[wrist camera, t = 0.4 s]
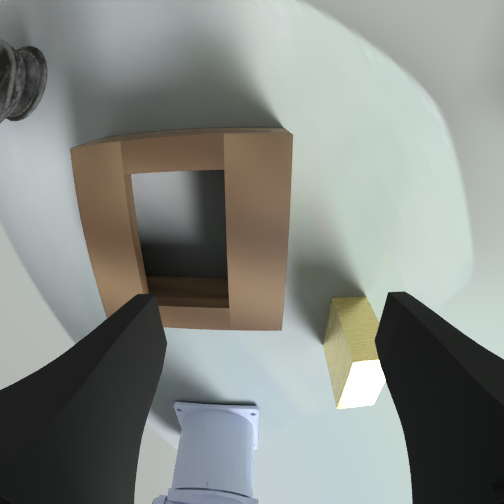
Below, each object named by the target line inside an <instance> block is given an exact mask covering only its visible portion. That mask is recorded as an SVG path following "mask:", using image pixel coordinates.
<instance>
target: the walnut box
mask: <svg viewBox="0 0 504 504" xmlns="http://www.w3.org/2000/svg"><path fill="white" fill-rule="evenodd" d="M292 145H293V134H291V133H290V132H289V131H287V130H286V129H285V128H273V127H224V128H197V129H180V130H166V131H155V132H144V133H135V134H127V135H119V136H111V137H106V138H102V139H99V140H96V141H92V142H89V143H86V144H83V145H80V146H77V147H74V148H71V149H70V152H71V160H72V168H73V176H74V182H75V189H76V195H77V201H78V206H79V212H80V217H81V222H82V227H83V231H84V236H85V240H86V245H87V249H88V253H89V257H90V261H91V265H92V269H93V273H94V276H95V280H96V283H97V287H98V290H99V294H100V297H101V300H102V303H103V307H104V310H105V313H106V316H107V318H109V317H110V316H111V315H112V314H113V313H115V312H116V311H117V310H118V309H119V308H120V307H122V306H123V305H124V304H125V303H126V302H128V301H129V300H130V299H131V298H133V297H134V296H135V295H137V294H156V298H157V302H158V307H159V311H160V316H161V320H162V325H163V327H169V328H187V329H211V330H282V321H283V309H284V296H285V282H286V268H287V252H288V235H289V217H290V197H291V173H292ZM191 170H224V174H225V211H226V241H227V266H228V278H190V277H151V276H146V274H145V269H144V264H143V258H142V252H141V247H140V241H139V234H138V228H137V221H136V214H135V207H134V199H133V191H132V182H131V174H135V173H150V172H168V171H191Z"/></svg>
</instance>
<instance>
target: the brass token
mask: <svg viewBox="0 0 504 504" xmlns="http://www.w3.org/2000/svg"><path fill="white" fill-rule="evenodd" d="M378 327H379V322H378V320H377V318H376V316H375V313H374V311H373V309H372V307H371V305H370V303H369V301H368V299H367V297H332V302H331V307H330V312H329V318H328V323H327V328H326V333H325V338H324V343H323V347H324V352H325V356H326V360H327V365H328V369H329V374H330V378H331V383H332V388H333V392H334V397H335V402H336V407H337V409H340V408H350V407H357V406H366V405H372V404H374V402H375V400H376V398H377V396H378V394H379V392H380V390H381V388H382V386H383V384H384V382H385V377H384V375H383V372H382V369H381V366H380V362H379V358H378V354H377V350H376V346H375V341H374V340H375V337H376V334H377V330H378Z"/></svg>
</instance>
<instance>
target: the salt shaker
mask: <svg viewBox="0 0 504 504" xmlns="http://www.w3.org/2000/svg"><path fill="white" fill-rule="evenodd" d="M46 80H47V66H46V61H45V58H44V56H43V54H42V53H41V52H40V51H39V50H38V49H37V48H33V47H23V48H21V49H19V50H17V51H16V50H15V49H14V48H13V47H11V46H10V45H9V44H8V43H7V42H6V41H3V40H0V123H1V122H2V121H3V120H4V119H5V118H6V119H8V120H10V121H19V120H22V119H24V118H26V117H27V116H29V115H30V114H31V113H32V112H33V111H34V109H35V108H36V107H37V105H38V103H39V102H40V100H41V98H42V95H43V93H44V90H45V86H46Z"/></svg>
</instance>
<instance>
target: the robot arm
mask: <svg viewBox="0 0 504 504" xmlns="http://www.w3.org/2000/svg"><path fill="white" fill-rule="evenodd" d="M374 341H375V346H376V350H377V354H378V358H379V362H380V366H381V369H382V372H383V375H384V377H385V380H386V383H387V385H388V388H389V390H390V393H391V396H392V399H393V401H394V404H395V407H396V410H397V412H398V415H399V418H400V421H401V424H402V428H403V431H404V435H405V441H406V446H407V452H408V457H409V465H410V473H411V483H412V499H413V504H504V359H502V358H500V357H498V356H497V355H495V354H494V353H492V352H490V351H488V350H487V349H485V348H484V347H482V346H481V345H479V344H478V343H476V342H475V341H473V340H472V339H470V338H469V337H468V336H466V335H464V334H463V333H462V332H460V331H459V330H458V329H456V328H455V327H454V326H452V325H451V324H449V323H448V322H447V321H445V320H444V319H443V318H442V317H440V316H439V315H438V314H436V313H435V312H434V311H432V310H431V309H429V308H428V307H427V306H425V305H424V304H423V303H421V302H420V301H419V300H417V299H416V298H414V297H413V296H411V295H410V294H408V293H406V292H388V295H387V299H386V303H385V306H384V310H383V313H382V317H381V320H380V324H379V327H378V330H377V334H376V337H375V340H374ZM166 346H167V341H166V337H165V333H164V329H163V325H162V320H161V316H160V311H159V307H158V302H157V298H156V294H137V295H135V296H134V297H133V298H131V299H130V300H129V301H128V302H126V303H125V304H124V305H123V306H122V307H120V308H119V309H118V310H117V311H116V312H115V313H113V314H112V315H111V316H110V317H109V318H107V319H106V320H105V321H104V322H103V323H102V324H100V325H99V326H98V327H97V328H96V329H94V330H93V331H92V332H91V333H89V334H88V335H87V336H86V337H84V338H83V339H82V340H80V341H79V342H78V343H77V344H75V345H74V346H73V347H72V348H70V349H69V350H68V351H66V352H65V353H64V354H62V355H61V356H59V357H58V358H56V359H55V360H54V361H52V362H50V363H49V364H47V365H46V366H44V367H43V368H41V369H39V370H38V371H36V372H34V373H32V374H31V375H29V376H27V377H25V378H23V379H21V380H20V381H18V382H16V383H14V384H12V385H10V386H8V387H6V388H4V389H2V390H0V504H134V492H135V481H136V472H137V464H138V457H139V449H140V444H141V438H142V434H143V430H144V426H145V423H146V420H147V416H148V413H149V410H150V407H151V404H152V401H153V397H154V394H155V391H156V388H157V385H158V382H159V378H160V375H161V372H162V368H163V363H164V358H165V352H166ZM173 407H174V410H175V412H176V415H177V418H178V421H179V424H180V426H181V429H182V430H181V436H180V441H179V447H178V453H177V459H176V464H175V470H174V477H173V482H172V488H169V491H168V497H167V496H165V495H160V496H159V497H157V498H155V499H154V500H153V502H152V504H258V499H254V498H253V466H254V450H256V449H257V439H258V413H259V409H258V407H257V406H238V405H214V404H198V403H186V402H175V403H174V406H173Z"/></svg>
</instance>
